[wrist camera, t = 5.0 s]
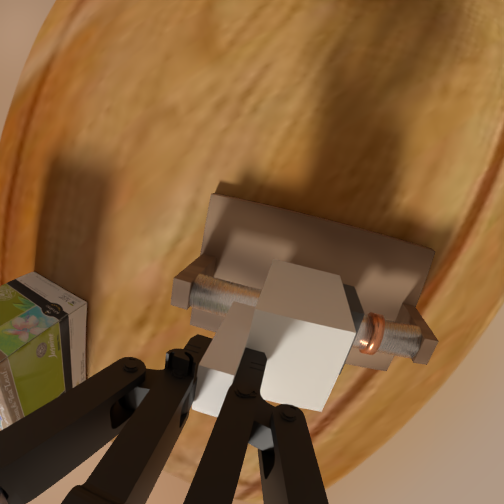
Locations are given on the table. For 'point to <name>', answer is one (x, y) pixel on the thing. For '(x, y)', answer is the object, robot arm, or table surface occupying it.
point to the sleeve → (301, 334)
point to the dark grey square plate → (353, 310)
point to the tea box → (38, 345)
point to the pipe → (367, 339)
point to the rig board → (310, 264)
